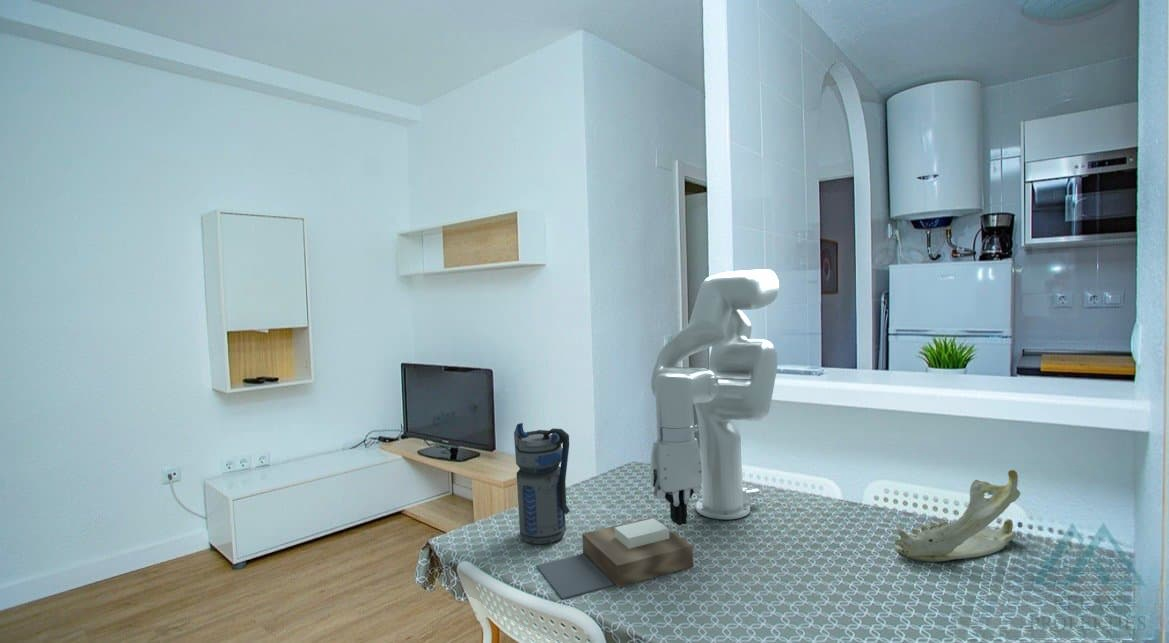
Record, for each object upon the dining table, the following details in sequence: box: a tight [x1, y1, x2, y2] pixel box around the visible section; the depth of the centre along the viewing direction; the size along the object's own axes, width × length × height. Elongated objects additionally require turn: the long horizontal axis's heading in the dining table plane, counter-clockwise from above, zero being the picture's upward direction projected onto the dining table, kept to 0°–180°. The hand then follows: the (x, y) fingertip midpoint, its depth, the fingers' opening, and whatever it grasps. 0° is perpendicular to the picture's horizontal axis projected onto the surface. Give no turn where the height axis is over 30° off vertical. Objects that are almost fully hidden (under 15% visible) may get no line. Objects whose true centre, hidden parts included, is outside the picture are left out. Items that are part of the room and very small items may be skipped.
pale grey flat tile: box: [614, 518, 670, 549], centre depth 115 cm, size 9×6×2 cm, turn 113°
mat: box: [536, 553, 615, 601], centre depth 109 cm, size 10×14×1 cm
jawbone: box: [893, 469, 1021, 563], centre depth 110 cm, size 25×18×10 cm
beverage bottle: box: [513, 422, 571, 545], centre depth 126 cm, size 10×13×25 cm
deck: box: [581, 517, 694, 588], centre depth 114 cm, size 16×16×4 cm
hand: (679, 522), depth 118 cm, fingers closed
